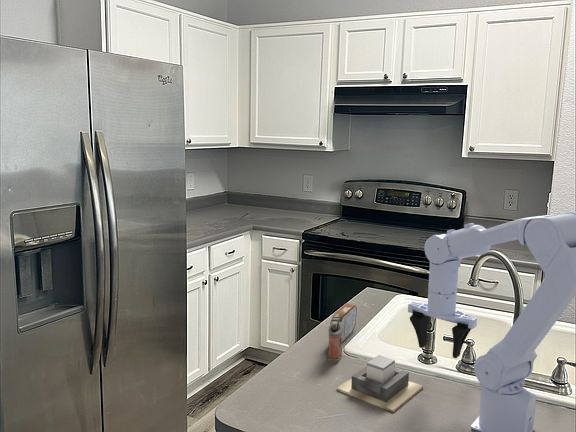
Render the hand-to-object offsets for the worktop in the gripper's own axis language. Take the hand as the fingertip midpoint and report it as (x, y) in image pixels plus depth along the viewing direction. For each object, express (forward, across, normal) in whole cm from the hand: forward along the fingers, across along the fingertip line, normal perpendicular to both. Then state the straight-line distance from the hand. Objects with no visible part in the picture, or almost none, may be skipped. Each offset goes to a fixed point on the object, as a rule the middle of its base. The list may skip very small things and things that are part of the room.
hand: (439, 351), depth 115 cm
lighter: (+10, +27, 0) cm, 29 cm away
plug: (+9, +10, +7) cm, 15 cm away
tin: (+10, +32, -11) cm, 35 cm away
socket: (+9, +10, +7) cm, 15 cm away
